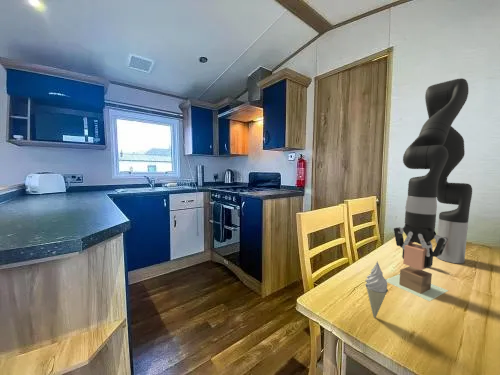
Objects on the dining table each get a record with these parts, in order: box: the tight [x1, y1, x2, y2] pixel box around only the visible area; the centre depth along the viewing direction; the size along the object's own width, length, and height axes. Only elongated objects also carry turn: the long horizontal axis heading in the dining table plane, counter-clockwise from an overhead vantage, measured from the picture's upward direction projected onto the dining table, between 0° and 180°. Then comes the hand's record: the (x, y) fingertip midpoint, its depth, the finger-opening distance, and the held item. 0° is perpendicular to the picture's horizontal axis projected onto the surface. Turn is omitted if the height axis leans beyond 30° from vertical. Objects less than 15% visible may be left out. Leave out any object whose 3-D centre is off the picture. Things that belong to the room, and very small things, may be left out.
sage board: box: [385, 273, 449, 302], centre depth 70 cm, size 12×13×1 cm
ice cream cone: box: [364, 261, 389, 319], centre depth 56 cm, size 5×5×15 cm
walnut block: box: [399, 266, 433, 294], centre depth 69 cm, size 6×6×5 cm
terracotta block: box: [402, 242, 427, 271], centre depth 69 cm, size 5×5×6 cm
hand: (416, 263), depth 69 cm, fingers closed on terracotta block, 5 cm apart
